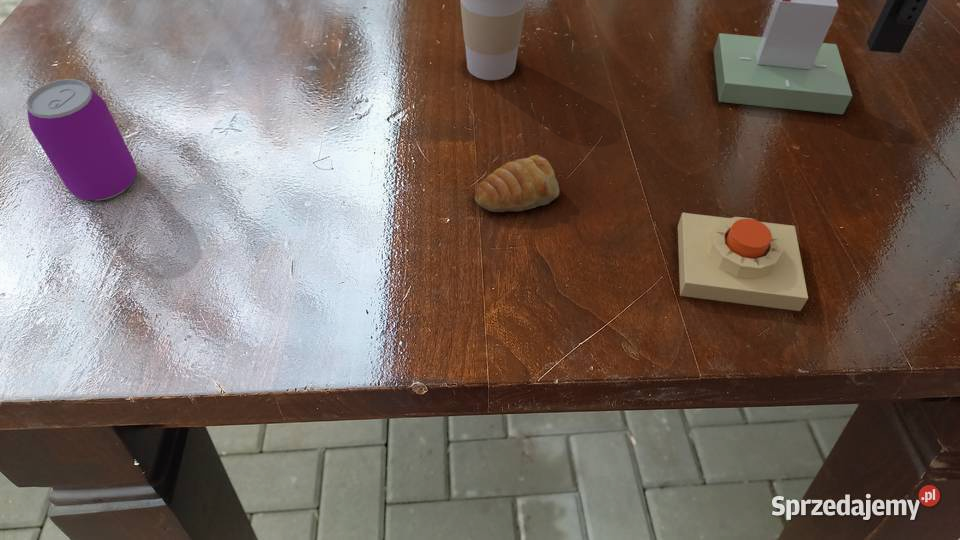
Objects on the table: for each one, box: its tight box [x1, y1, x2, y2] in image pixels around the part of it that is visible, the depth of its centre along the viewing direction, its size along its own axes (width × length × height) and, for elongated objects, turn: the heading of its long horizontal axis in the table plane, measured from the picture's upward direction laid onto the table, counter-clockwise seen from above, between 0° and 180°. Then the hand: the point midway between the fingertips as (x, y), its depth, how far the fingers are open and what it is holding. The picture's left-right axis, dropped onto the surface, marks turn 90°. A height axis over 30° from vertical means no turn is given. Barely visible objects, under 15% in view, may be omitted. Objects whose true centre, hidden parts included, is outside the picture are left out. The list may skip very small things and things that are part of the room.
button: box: [727, 218, 772, 259], centre depth 70 cm, size 4×4×2 cm
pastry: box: [474, 154, 560, 213], centre depth 79 cm, size 9×7×4 cm
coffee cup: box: [459, 0, 528, 81], centre depth 91 cm, size 9×9×15 cm
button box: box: [677, 212, 809, 312], centre depth 72 cm, size 12×10×4 cm
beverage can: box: [25, 78, 138, 202], centre depth 76 cm, size 8×8×12 cm
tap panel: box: [713, 32, 853, 115], centre depth 94 cm, size 16×12×3 cm
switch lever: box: [756, 0, 839, 70], centre depth 89 cm, size 7×2×9 cm, turn 81°
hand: (883, 47), depth 65 cm, fingers closed
